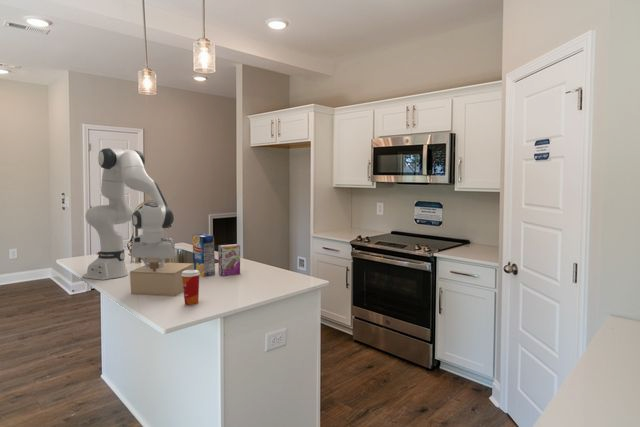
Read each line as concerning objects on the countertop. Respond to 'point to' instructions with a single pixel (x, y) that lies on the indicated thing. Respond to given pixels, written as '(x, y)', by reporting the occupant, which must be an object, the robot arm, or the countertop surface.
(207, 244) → the beverage box
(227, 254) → the candy bar box
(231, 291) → the countertop surface
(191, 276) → the paper cup
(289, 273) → the countertop surface
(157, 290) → the carton
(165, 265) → the lid flap
